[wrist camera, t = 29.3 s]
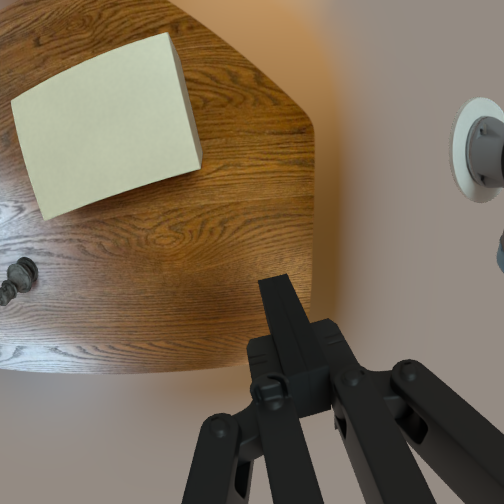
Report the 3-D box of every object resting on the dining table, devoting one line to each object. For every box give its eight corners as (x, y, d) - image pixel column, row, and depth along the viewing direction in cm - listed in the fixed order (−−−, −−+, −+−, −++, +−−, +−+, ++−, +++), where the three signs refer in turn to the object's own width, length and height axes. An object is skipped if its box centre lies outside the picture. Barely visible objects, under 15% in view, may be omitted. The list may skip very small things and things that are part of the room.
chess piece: (43, 268, 46) (13, 304, 36) (33, 288, 48) (6, 325, 37) (20, 249, 44) (-13, 281, 33) (12, 270, 45) (-19, 304, 35)
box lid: (47, 219, 30) (44, 221, 29) (13, 101, 23) (10, 100, 22) (200, 167, 31) (200, 168, 30) (168, 33, 24) (167, 31, 23)
